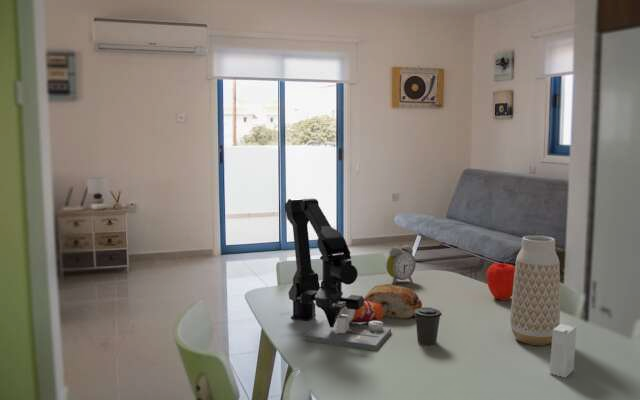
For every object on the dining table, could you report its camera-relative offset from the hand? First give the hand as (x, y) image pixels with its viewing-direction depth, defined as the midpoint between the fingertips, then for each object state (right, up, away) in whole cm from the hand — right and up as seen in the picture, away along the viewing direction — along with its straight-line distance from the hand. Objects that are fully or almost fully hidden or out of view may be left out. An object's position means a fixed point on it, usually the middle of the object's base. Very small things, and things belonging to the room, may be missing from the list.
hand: (331, 327), depth 186 cm
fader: (+3, -1, -1) cm, 4 cm away
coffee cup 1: (+15, +2, +13) cm, 20 cm away
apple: (+63, +2, +39) cm, 75 cm away
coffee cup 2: (+28, -4, -5) cm, 29 cm away
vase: (+60, -3, -3) cm, 60 cm away
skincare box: (+59, -6, -27) cm, 65 cm away
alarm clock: (+29, +5, +63) cm, 69 cm away
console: (+5, -3, -1) cm, 6 cm away
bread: (+21, 0, +25) cm, 33 cm away
